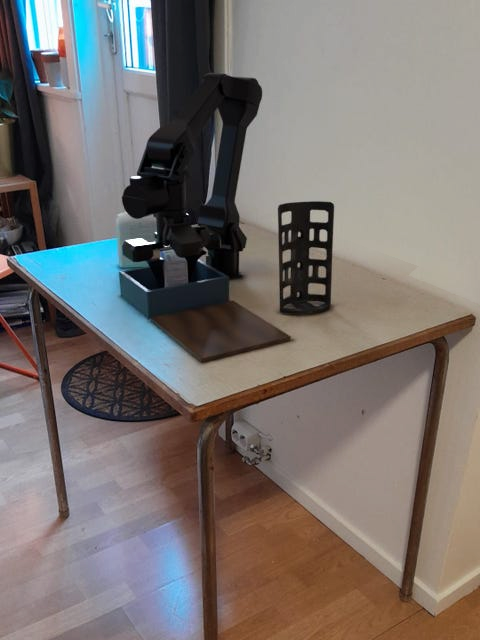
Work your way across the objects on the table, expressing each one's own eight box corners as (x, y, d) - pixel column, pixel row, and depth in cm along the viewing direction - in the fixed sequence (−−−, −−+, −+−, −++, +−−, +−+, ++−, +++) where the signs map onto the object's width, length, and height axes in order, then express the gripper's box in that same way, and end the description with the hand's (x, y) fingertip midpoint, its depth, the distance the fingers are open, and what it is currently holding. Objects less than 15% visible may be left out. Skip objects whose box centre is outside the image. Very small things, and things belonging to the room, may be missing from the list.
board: (233, 304, 130) (233, 300, 130) (290, 340, 116) (290, 336, 116) (150, 321, 122) (150, 317, 122) (201, 363, 108) (201, 358, 108)
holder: (289, 318, 124) (290, 208, 115) (269, 308, 130) (269, 203, 121) (337, 309, 128) (342, 202, 119) (316, 300, 134) (319, 198, 125)
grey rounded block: (162, 261, 153) (160, 206, 146) (165, 266, 149) (162, 211, 143) (118, 263, 151) (113, 208, 144) (119, 269, 147) (114, 213, 141)
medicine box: (189, 303, 130) (187, 260, 125) (167, 305, 128) (164, 262, 124) (181, 289, 136) (180, 248, 131) (160, 291, 135) (158, 250, 130)
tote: (197, 282, 141) (196, 257, 138) (229, 302, 131) (229, 276, 128) (120, 296, 133) (118, 271, 130) (148, 319, 123) (146, 292, 121)
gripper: (142, 223, 113) (148, 309, 121) (235, 210, 121) (235, 291, 129) (117, 209, 121) (124, 290, 129) (206, 198, 129) (207, 275, 137)
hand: (174, 287), depth 131 cm, fingers closed on medicine box, 5 cm apart
